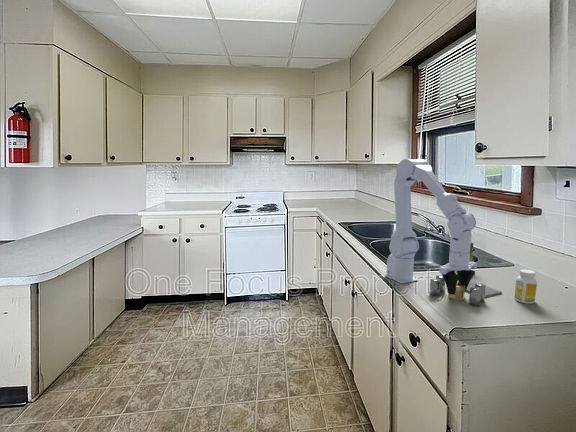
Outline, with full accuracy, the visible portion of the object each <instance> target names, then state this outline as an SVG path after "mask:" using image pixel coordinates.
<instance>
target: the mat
mask: <svg viewBox="0 0 576 432" xmlns="http://www.w3.org/2000/svg"><path fill="white" fill-rule="evenodd" d="M476 283H477V282H475V281H471V280H470V282H469V284H468V287H467V290H466V292H465V293H469V294H470V288H471V287H475V284H476ZM501 294H503V292H502V291H501V290H497V289H495V288H492V287H489V286H486V289H485V298H489V297H493V296H497V295H501Z"/></svg>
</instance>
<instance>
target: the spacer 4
mask: <svg viewBox="0 0 576 432" xmlns="http://www.w3.org/2000/svg"><path fill="white" fill-rule="evenodd" d="M475 283H476V284H475V287H476V288H480V289H481V299H480V303H484V302H485V298H486V297H485V289H486V287H487V286H486V284H483V283H480V282H479V283H477V282H475Z"/></svg>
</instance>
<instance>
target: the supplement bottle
mask: <svg viewBox="0 0 576 432" xmlns="http://www.w3.org/2000/svg"><path fill="white" fill-rule="evenodd" d="M535 277H536V271H533V270H532V269H520V270H519V275H518V276H517V277H516V278H515V280H516V281H515V290H514V297H513V298H514V300H515V301H517V302H519V303H522V304H528V305H529V304H531V305H532V304H534V303H535V301H536V294H537V286H538V285H537V284H538V280H537V279H536V278H535Z"/></svg>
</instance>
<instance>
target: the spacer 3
mask: <svg viewBox="0 0 576 432" xmlns="http://www.w3.org/2000/svg"><path fill="white" fill-rule="evenodd" d="M468 297H469V299H468V305H469V306H471V307H477V308H478V307H481V302H480V299H481V289H480V288H476V287H471V288H470V293H469V296H468Z"/></svg>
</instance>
